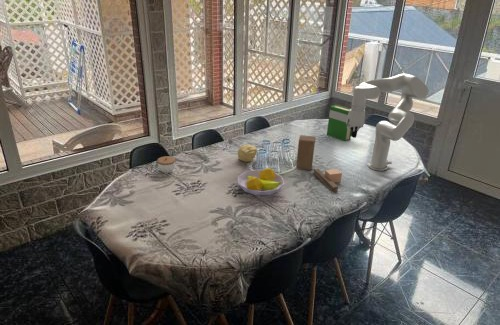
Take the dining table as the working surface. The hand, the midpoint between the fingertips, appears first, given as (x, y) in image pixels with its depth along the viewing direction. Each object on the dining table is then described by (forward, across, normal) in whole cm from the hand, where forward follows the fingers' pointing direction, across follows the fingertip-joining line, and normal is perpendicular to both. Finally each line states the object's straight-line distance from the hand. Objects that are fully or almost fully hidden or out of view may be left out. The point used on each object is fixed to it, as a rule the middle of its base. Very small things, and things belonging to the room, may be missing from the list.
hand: (353, 136), depth 221 cm
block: (+25, +14, +6) cm, 29 cm away
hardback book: (+26, -29, -60) cm, 72 cm away
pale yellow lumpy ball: (+24, +57, -35) cm, 71 cm away
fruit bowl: (+24, +61, +6) cm, 66 cm away
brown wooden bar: (+25, +20, +6) cm, 32 cm away
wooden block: (+25, +23, -17) cm, 38 cm away
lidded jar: (+23, +110, -30) cm, 116 cm away
